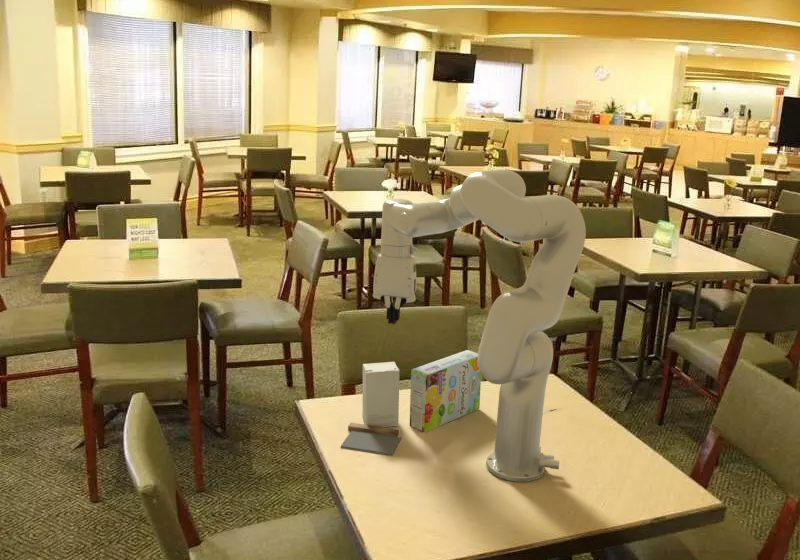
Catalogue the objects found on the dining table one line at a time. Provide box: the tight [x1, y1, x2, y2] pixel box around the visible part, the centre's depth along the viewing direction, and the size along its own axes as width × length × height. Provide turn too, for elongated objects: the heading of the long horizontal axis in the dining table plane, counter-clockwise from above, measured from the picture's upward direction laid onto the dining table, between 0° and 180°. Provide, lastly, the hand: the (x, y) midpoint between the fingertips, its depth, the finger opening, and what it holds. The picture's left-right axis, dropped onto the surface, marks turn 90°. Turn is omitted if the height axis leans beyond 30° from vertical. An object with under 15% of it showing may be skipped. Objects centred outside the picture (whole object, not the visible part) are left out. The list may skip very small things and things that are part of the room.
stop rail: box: [347, 422, 400, 437], centre depth 177 cm, size 12×2×1 cm, turn 76°
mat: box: [340, 430, 402, 456], centre depth 172 cm, size 12×8×1 cm
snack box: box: [409, 349, 482, 434], centre depth 185 cm, size 21×6×15 cm, turn 136°
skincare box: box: [361, 361, 401, 428], centre depth 181 cm, size 8×6×15 cm
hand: (392, 322), depth 186 cm, fingers closed
